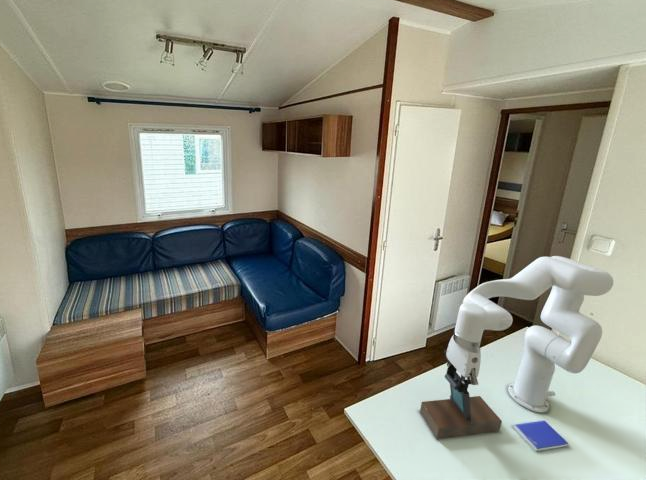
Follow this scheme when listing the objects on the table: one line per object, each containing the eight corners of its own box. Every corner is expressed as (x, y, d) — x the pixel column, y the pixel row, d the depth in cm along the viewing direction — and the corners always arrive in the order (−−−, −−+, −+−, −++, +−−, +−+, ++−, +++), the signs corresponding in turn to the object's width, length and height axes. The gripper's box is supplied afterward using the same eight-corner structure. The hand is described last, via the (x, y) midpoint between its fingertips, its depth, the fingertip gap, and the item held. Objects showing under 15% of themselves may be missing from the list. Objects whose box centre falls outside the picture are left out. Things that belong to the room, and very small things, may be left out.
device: (452, 366, 103) (441, 369, 103) (469, 385, 95) (457, 389, 95) (455, 398, 107) (444, 401, 107) (471, 418, 100) (460, 422, 99)
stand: (477, 405, 111) (480, 392, 110) (499, 432, 101) (503, 418, 100) (419, 411, 109) (421, 397, 107) (436, 440, 99) (439, 425, 97)
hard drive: (537, 448, 95) (568, 443, 97) (514, 424, 103) (544, 419, 105) (536, 451, 96) (567, 446, 97) (513, 427, 103) (543, 423, 105)
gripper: (498, 358, 88) (485, 405, 92) (458, 322, 104) (449, 364, 109) (475, 359, 87) (463, 407, 91) (439, 323, 103) (430, 365, 108)
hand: (456, 383), depth 100 cm, fingers closed on device, 5 cm apart
